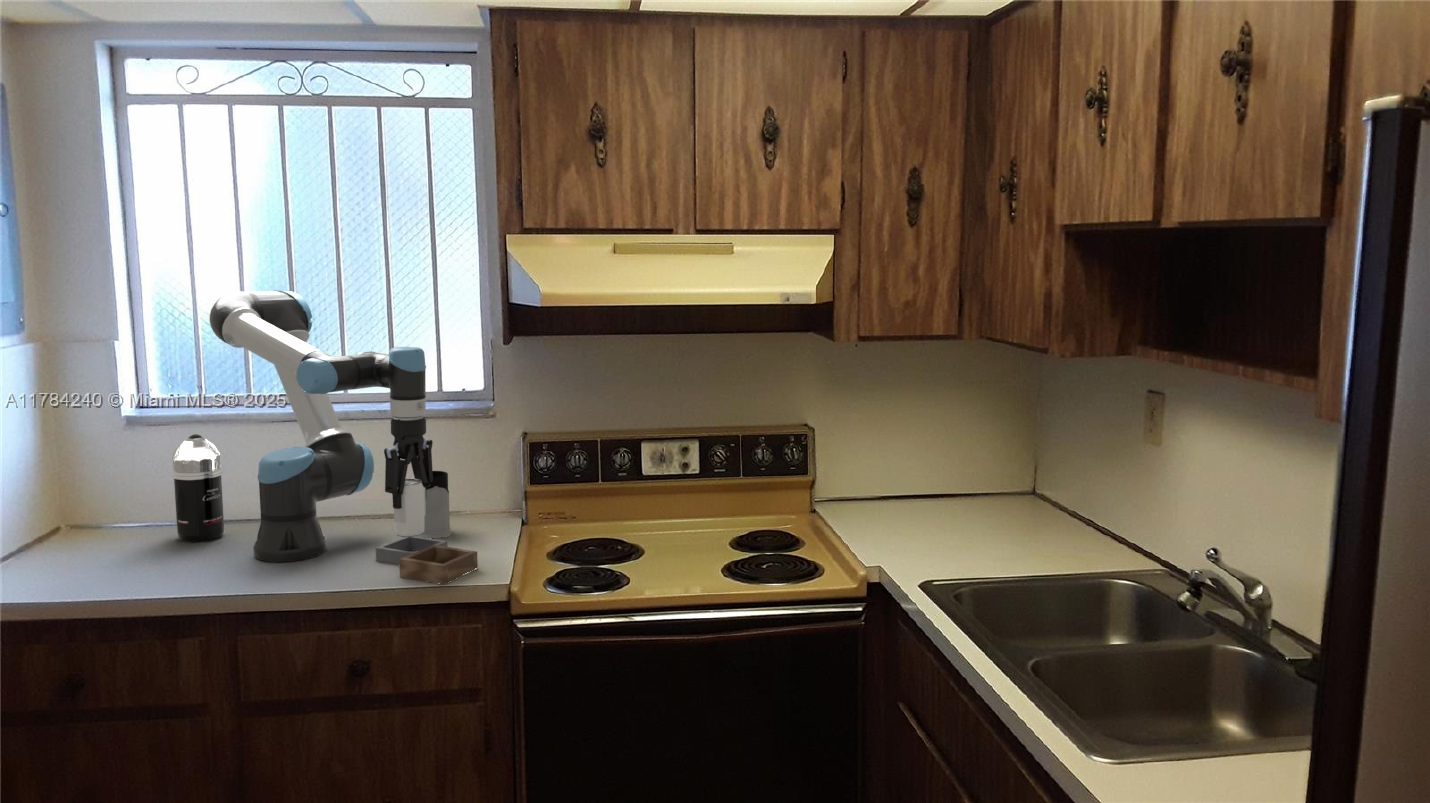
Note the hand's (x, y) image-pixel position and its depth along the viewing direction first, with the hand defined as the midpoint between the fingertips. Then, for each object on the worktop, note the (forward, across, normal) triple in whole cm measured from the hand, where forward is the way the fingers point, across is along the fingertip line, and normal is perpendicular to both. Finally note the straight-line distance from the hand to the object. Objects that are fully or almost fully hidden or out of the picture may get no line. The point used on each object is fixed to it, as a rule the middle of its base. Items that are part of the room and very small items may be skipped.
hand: (410, 518), depth 222 cm
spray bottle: (+10, -9, +54) cm, 56 cm away
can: (+4, 0, 0) cm, 4 cm away
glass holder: (+9, +19, +10) cm, 23 cm away
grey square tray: (+9, 0, 0) cm, 9 cm away
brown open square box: (+9, -7, -13) cm, 17 cm away
